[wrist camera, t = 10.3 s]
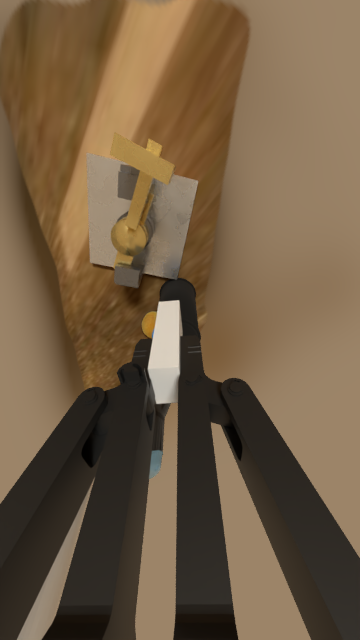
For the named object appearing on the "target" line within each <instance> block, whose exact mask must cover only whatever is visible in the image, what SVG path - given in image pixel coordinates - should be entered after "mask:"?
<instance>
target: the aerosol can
mask: <svg viewBox="0 0 360 640" xmlns="http://www.w3.org/2000/svg"><path fill="white" fill-rule="evenodd" d="M195 297H196V292H195V288H194V286H193V285H192V284H191V283H190V282H189V281H187V280H185V279H182V278H177V280H175V279H170V280H168V281H166V282H165V283H164V284H163V285H162V287H161V289H160V301H159V302H164V301H176V300H179V302H180V312H181V321H182V336H189V335H196V336H197V337H198V338H199V340H200V339H201V336H200V332H199V329H198V321H197V311H196V302H195ZM154 329H155V328H154ZM153 334H154V330H153V332H152V339H153Z"/></svg>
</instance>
